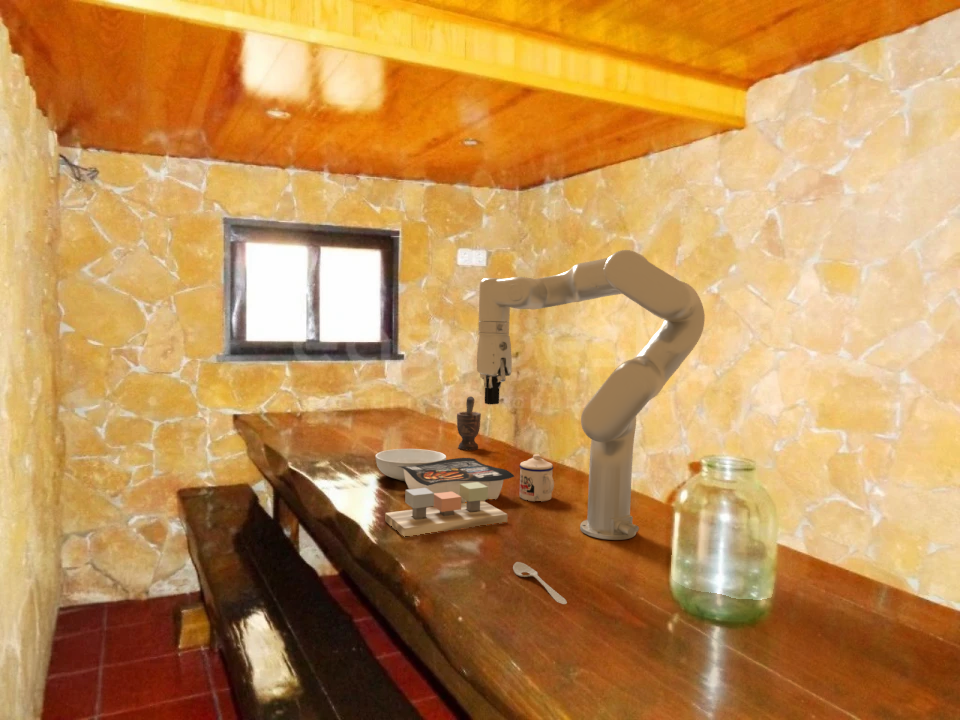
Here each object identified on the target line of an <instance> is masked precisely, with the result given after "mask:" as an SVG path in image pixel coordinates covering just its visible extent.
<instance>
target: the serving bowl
mask: <svg viewBox="0 0 960 720" xmlns="http://www.w3.org/2000/svg"><path fill="white" fill-rule="evenodd" d="M374 457H375V462H376V466H377V468H378V469H379V471H380V472H381V473H382V474H384V475H385V476H387V477H389V478H391V479H396V480H398V481H402V482H406V481H405V476H404V470H403V468H401V467H398V466H415V465H422V464H428V463H433V462H438V461H443V460H447V456H446V454H444V453H443V452H440V451H436V450H432V449H431V450H429V449H420V448H396V449H388V450H383V451H380V452H378V453H376V454H375V456H374Z"/></svg>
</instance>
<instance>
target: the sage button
mask: <svg viewBox="0 0 960 720" xmlns="http://www.w3.org/2000/svg"><path fill="white" fill-rule="evenodd" d="M460 496H461V497H462V498H463V499H465V500H467V507H466V508H467V509H468V510H470V511H476V510H480V500H485V501H486V500H488V487H487V486H485V485H483V484H481V483H479V482H474V483H464V484H460Z"/></svg>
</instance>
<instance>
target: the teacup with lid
mask: <svg viewBox="0 0 960 720" xmlns="http://www.w3.org/2000/svg"><path fill="white" fill-rule="evenodd" d="M519 468H520V472H519V498H521V499H522V500H525V501H527V500H528V502H535V501H541V502H547V501H549V500H552V495H553V491H554V486H555V481H554V479H553V469H554V465H553V463H551V462H549V461H547V460H546V459H543V458H542V457H541V455H540V454H538V453H537V454H535V453H534V454H533V456H532V457H531V458H529V459H527V460H525V461H522V462H520V464H519Z"/></svg>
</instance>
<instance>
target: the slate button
mask: <svg viewBox="0 0 960 720" xmlns="http://www.w3.org/2000/svg"><path fill="white" fill-rule="evenodd" d="M404 495H405V496H404V500H405V503H404V504H406V505H408V506H409V507H410V508H412V509H411V510H412V516H414V517H415V518H423V517H426V508H429V507H433V506H434V493H433V492H431V491H430V490H428V489H427V488H418V489H409V488H408V489H405V494H404Z"/></svg>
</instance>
